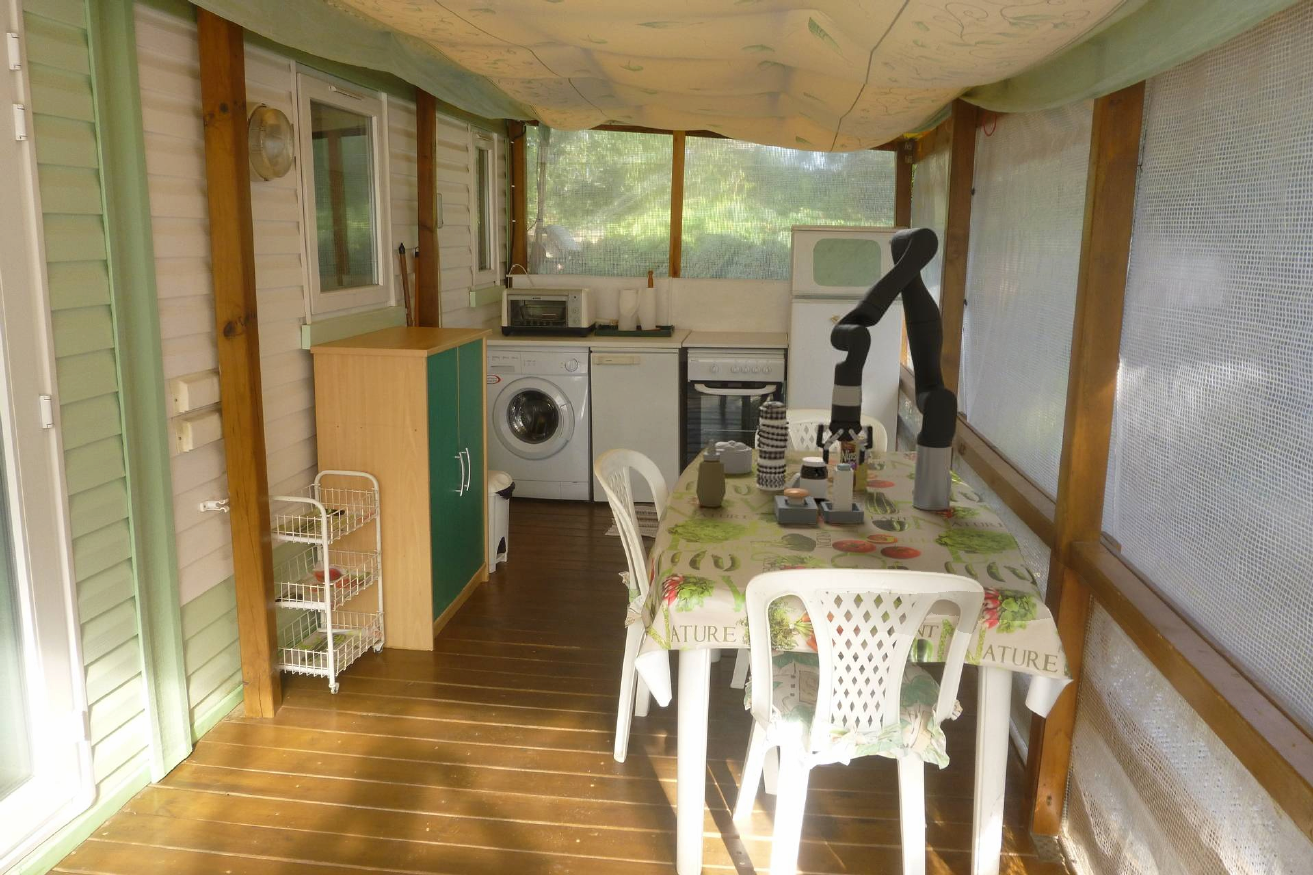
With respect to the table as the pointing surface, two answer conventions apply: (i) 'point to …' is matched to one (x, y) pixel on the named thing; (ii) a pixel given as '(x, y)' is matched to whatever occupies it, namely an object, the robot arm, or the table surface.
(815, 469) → the spread jar
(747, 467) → the lumpy-topped squat cylinder
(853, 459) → the candy box
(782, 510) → the socket blocks
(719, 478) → the squeeze bottle
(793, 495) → the tan mushroom peg
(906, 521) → the table surface
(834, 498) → the square rod with knob
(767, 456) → the decorative candle
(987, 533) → the table surface
